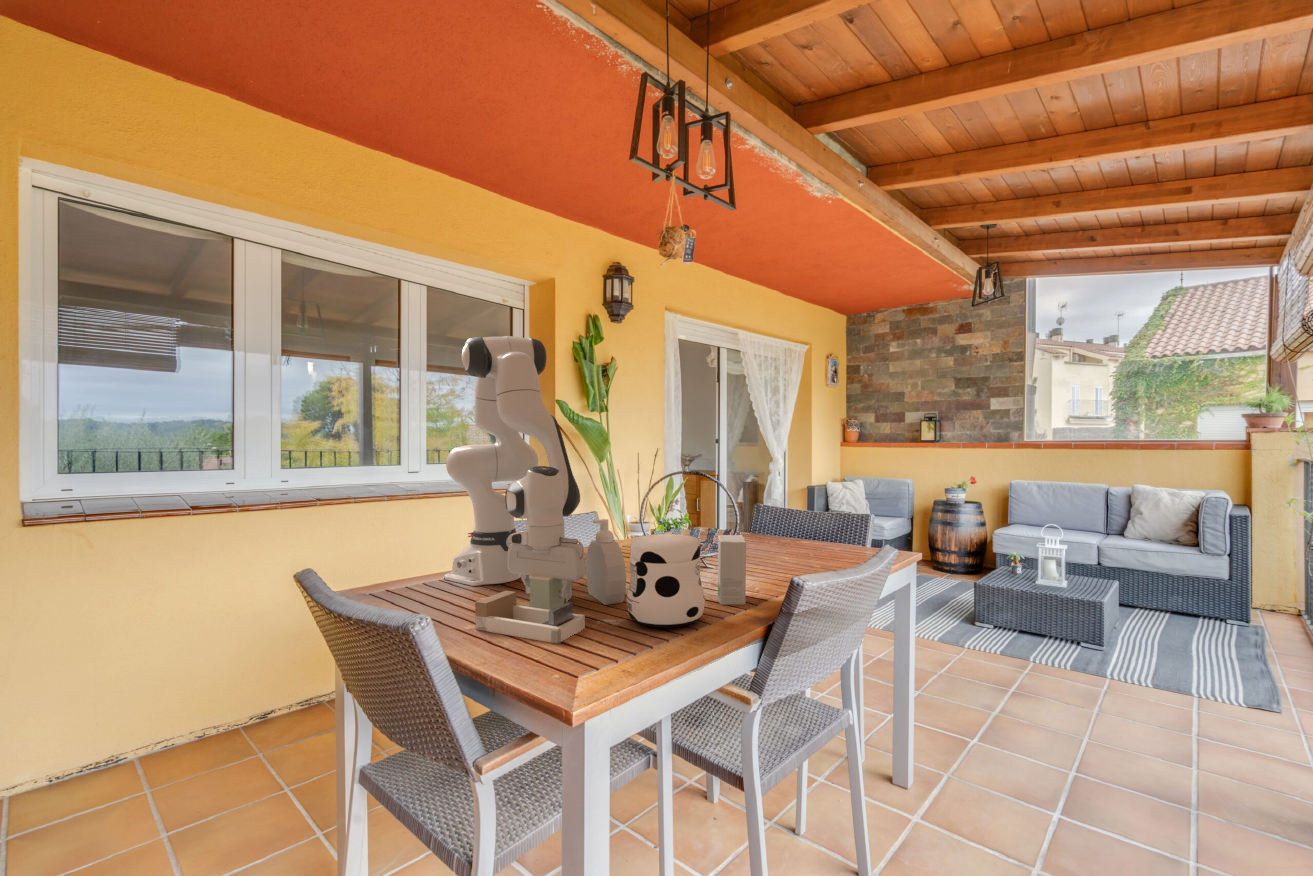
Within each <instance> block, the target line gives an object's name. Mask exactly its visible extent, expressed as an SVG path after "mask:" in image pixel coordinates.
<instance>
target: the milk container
mask: <svg viewBox="0 0 1313 876" xmlns="http://www.w3.org/2000/svg"><path fill="white" fill-rule="evenodd" d="M629 550H630V553H629V554H630V558H629V567H630V568H629V569H630V572H629V573H630V579H629V585H628V590H627V594H626V608H627V613H628V615H629V618H630V619H631V620H633V621H634V622H636V623H637V624H640V625H643V626H646V627H653V628H667V629H668V628H679V627H683V626H687V625H691V624H693V623H695V622H697V621H699V620H700V618H701V617H702V616H703V614H704V610H705V604H706V596H705V591H704V588H703V585H702V579H701V546H700V541H699V538H698V537H694V536H692V535H685V534H674V533H673V534H671V533H669V534H665V533H664V534H662V533H661V534H650V535H649V534H648V535H641V536H638V537H634V538H633V539H631V541H630V548H629Z"/></svg>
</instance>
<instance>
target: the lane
mask: <svg viewBox="0 0 1313 876" xmlns="http://www.w3.org/2000/svg"><path fill="white" fill-rule="evenodd" d="M474 605H475V606H474V607H475V608H474V611H475V613H474V614H475V630H477V631H483V632H489V633H494V634H501V635H506V636H512V637H516V638H522V639H529V640H535V641H540V642H545V643H550V644H551V643H552V644H556V645H558V644H560V643H562V642H563V640H564V641H565V640H567V639H569V638H571V637H573V636H574V634H575V635H577V634H579V633H580V632H582V631H584V630H585V628H586V626H585V625H586V618H585V616H586V615H585V614H580V613H574V612H573V620H571V621H569V622H567V623H565V624H563V625H561V626H559V627H557V626H551V625H545V624H542V623H544V622H547V621H549V610H547V609H540V608H533V607H530V606H525V605H518V604H517V591H511V590H504V591H502V592H499V593H496V594H493V595H489V596H487V597H485V598H482V599H479V600H477V601H474ZM583 629H584V630H583ZM581 630H582V631H581ZM572 635H573V636H572ZM570 636H571V637H570Z"/></svg>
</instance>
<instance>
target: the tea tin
mask: <svg viewBox="0 0 1313 876" xmlns="http://www.w3.org/2000/svg"><path fill="white" fill-rule="evenodd" d="M529 578H530V594H529V607H533V608H540V609H547V610H552V609H554V608H556V607H558V606H561V605H563V604H565V603H564V601H563V598H559V596H558V595H559V593H558V590H561V589H562V588H563V584H562V579H557V578H552V577H546V576H537V575H530V576H529Z"/></svg>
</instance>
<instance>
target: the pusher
mask: <svg viewBox="0 0 1313 876" xmlns="http://www.w3.org/2000/svg"><path fill="white" fill-rule="evenodd" d="M573 605H574V604H573V602H571V601H570V602H569V601H568V602H567V603H564V604H563V605H561V606H558V607H556V608H554V609H552V610H549V621H547V622H544V623H542V624H545V625H551V626H557V627H559V626H561V625H563V624H565V623H567V622H569V621H571V620H573V613H574V611H573V610H574V609H573V607H574V606H573Z"/></svg>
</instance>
